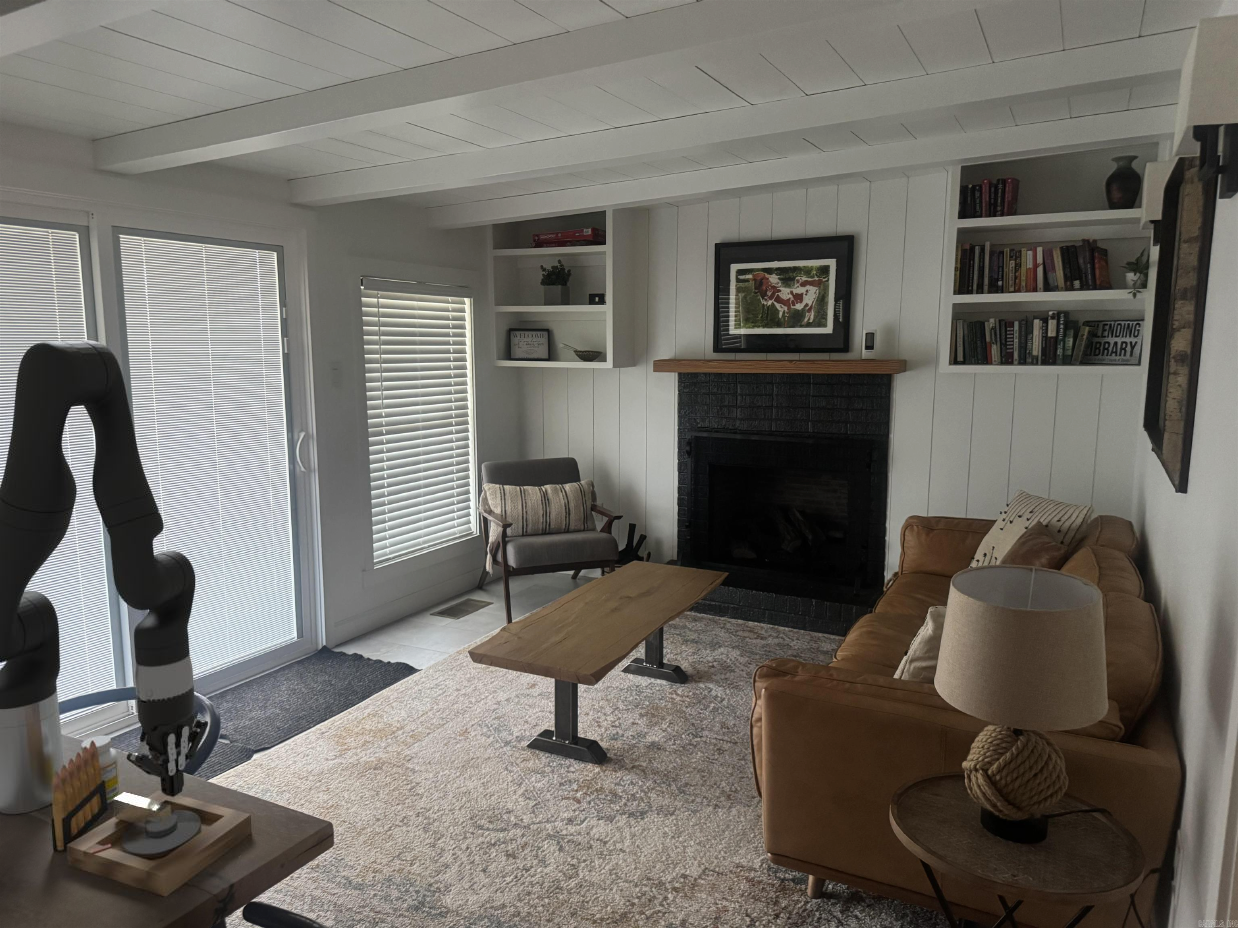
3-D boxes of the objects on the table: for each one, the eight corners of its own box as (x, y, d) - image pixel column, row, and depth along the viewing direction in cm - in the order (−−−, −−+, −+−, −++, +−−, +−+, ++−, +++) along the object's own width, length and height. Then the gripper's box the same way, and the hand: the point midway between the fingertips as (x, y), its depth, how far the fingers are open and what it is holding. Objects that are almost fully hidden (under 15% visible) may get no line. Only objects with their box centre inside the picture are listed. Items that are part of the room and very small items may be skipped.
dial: (216, 825, 120) (214, 795, 120) (158, 866, 111) (155, 834, 110) (151, 807, 125) (148, 778, 124) (89, 844, 115) (86, 813, 115)
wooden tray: (66, 865, 114) (64, 844, 113) (161, 807, 128) (159, 788, 127) (164, 897, 108) (162, 875, 107) (251, 832, 122) (250, 812, 121)
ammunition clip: (66, 852, 117) (58, 774, 115) (52, 852, 116) (44, 774, 115) (108, 808, 127) (102, 737, 125) (96, 809, 127) (89, 737, 125)
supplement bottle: (86, 791, 132) (81, 735, 130) (124, 786, 133) (119, 731, 132) (76, 810, 127) (70, 752, 125) (115, 804, 128) (110, 747, 127)
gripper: (182, 665, 129) (190, 767, 131) (105, 700, 116) (115, 811, 119) (220, 673, 126) (226, 776, 129) (145, 709, 114) (154, 822, 117)
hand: (173, 793), depth 124 cm, fingers closed
